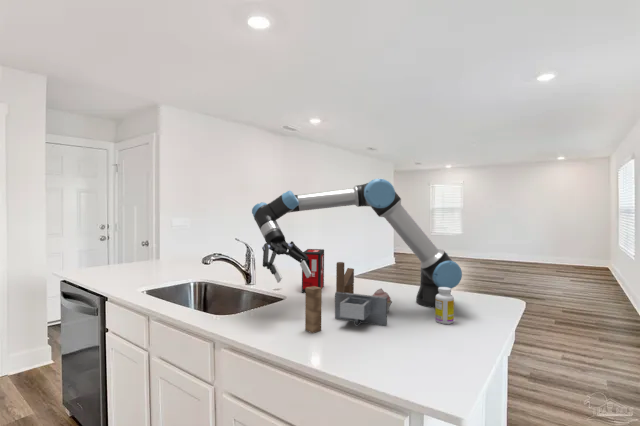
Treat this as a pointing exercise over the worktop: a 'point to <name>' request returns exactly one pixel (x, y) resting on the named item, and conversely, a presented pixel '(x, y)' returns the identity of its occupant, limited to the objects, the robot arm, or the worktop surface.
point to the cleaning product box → (314, 269)
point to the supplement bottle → (444, 306)
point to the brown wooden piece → (344, 279)
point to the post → (313, 309)
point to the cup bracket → (361, 308)
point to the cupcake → (383, 294)
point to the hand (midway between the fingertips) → (295, 278)
